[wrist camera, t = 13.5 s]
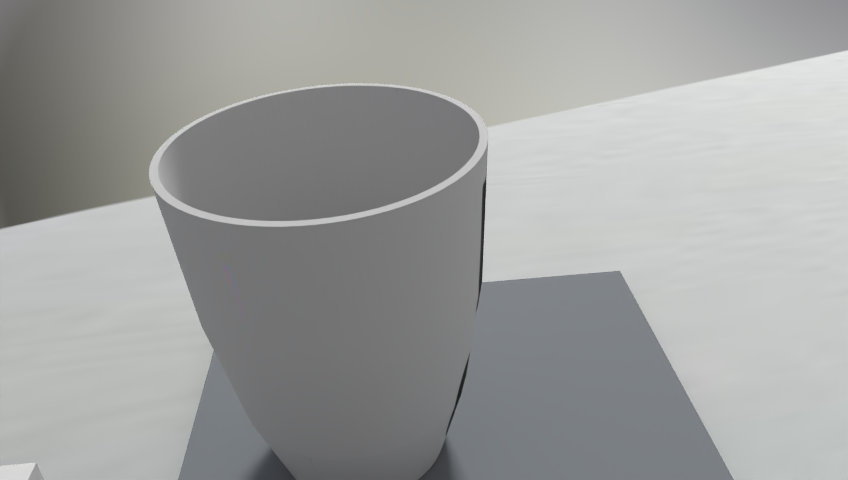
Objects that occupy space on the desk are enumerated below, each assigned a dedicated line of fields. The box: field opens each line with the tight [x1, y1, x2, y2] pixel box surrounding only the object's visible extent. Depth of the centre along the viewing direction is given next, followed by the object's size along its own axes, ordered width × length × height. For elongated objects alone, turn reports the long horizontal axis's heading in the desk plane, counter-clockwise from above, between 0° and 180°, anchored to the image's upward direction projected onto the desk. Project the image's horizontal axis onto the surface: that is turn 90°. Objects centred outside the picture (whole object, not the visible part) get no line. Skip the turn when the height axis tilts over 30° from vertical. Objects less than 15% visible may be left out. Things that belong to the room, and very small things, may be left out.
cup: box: [149, 83, 488, 480], centre depth 21 cm, size 8×8×10 cm
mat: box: [178, 271, 733, 480], centre depth 24 cm, size 16×15×1 cm
